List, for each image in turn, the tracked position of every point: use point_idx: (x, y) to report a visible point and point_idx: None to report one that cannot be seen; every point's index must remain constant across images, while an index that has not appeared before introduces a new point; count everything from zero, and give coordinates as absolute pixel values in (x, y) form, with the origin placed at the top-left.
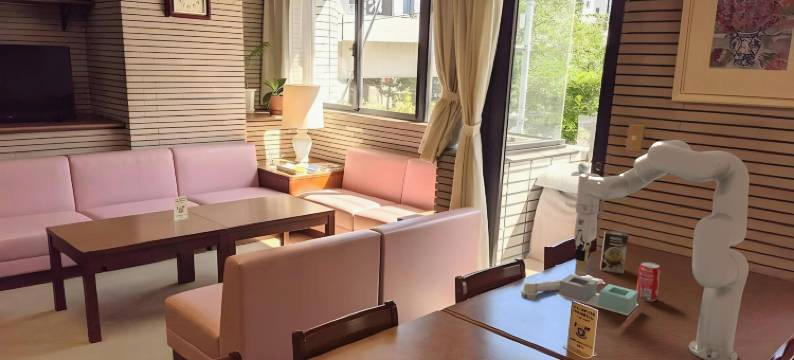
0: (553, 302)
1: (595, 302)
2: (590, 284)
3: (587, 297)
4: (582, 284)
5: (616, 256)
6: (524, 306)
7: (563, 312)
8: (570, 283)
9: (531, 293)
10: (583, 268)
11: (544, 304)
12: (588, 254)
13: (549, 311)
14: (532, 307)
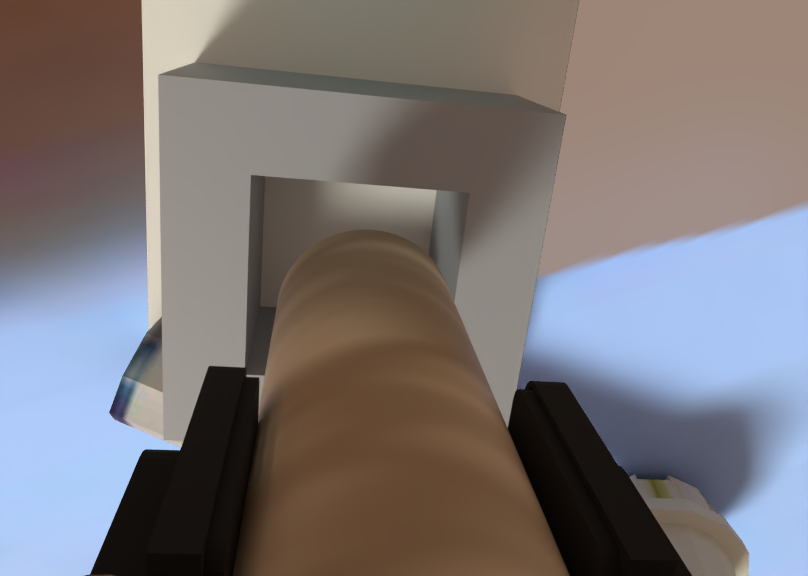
0: (588, 355)
1: (470, 2)
2: (386, 125)
3: (507, 97)
4: (255, 242)
5: None
6: (790, 487)
7: (771, 219)
8: (516, 340)
9: (736, 536)
10: (456, 315)
11: (673, 395)
12: (399, 418)
13: (803, 317)
14: (782, 440)
